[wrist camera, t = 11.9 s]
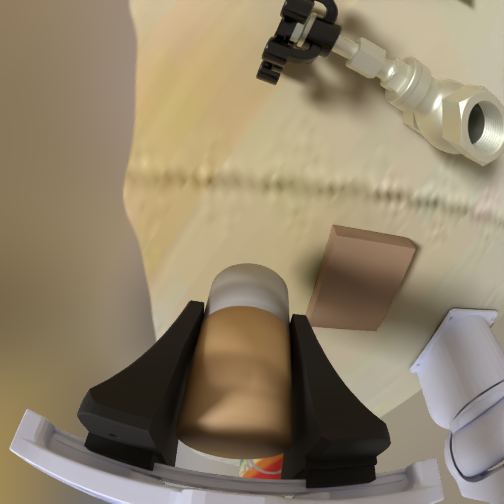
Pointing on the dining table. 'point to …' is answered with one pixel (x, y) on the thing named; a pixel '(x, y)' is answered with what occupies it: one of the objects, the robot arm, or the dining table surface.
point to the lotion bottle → (262, 468)
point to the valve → (393, 83)
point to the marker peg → (241, 369)
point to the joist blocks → (358, 278)
